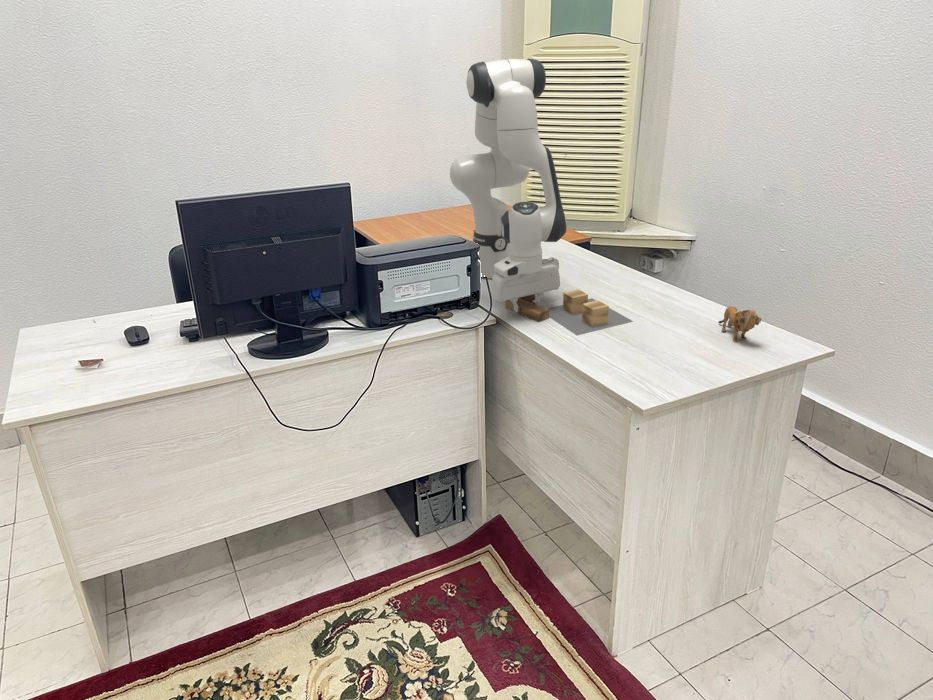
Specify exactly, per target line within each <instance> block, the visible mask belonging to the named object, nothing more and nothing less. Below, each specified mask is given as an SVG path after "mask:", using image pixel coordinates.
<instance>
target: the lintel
mask: <svg viewBox="0 0 933 700" xmlns="http://www.w3.org/2000/svg"><path fill="white" fill-rule="evenodd" d="M516 303H517V304H519V305H520V306H521V311H520V312H515V311H514V305H513V304H512V302H511V301H510V300H506V301H504V307H505V308H504V309H505V310H508V311H510V312H513V313H515V314H517V315H520V316H523V317H525V318H527V319H530V320H532V321H535V322H537V323H540V322H543V321H546V320H549V319H550V317H549V310H548V309H547V308H545V307H543V306H541V305H540V306H538V305H535V304H533V303H530V302H527V301H525V300H522V299H519V298H518V301H516Z"/></svg>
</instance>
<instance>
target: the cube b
mask: <svg viewBox="0 0 933 700" xmlns="http://www.w3.org/2000/svg"><path fill="white" fill-rule="evenodd" d="M609 308H610V307H609V305H608V304H606V303H604V302H602V301H601V300H598V299H597V300H596V301H592V302H588V303H584V304H583V308H582V321H584V322H585V323H587V324H588V325H590V326H592V327H594V326H598V325H602V324H606V323H608V310H609Z"/></svg>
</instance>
